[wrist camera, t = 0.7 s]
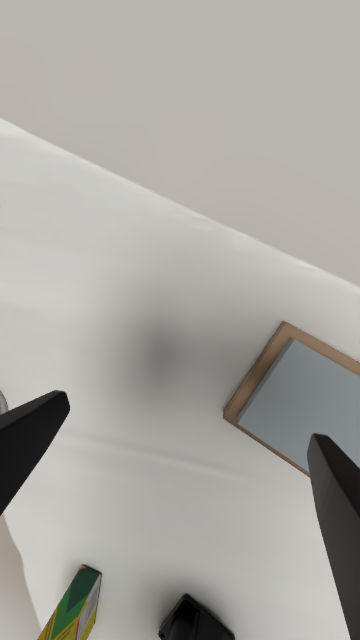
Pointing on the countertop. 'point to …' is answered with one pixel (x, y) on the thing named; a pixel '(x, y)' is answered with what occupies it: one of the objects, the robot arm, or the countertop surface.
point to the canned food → (3, 404)
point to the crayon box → (75, 609)
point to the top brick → (304, 404)
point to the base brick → (265, 363)
